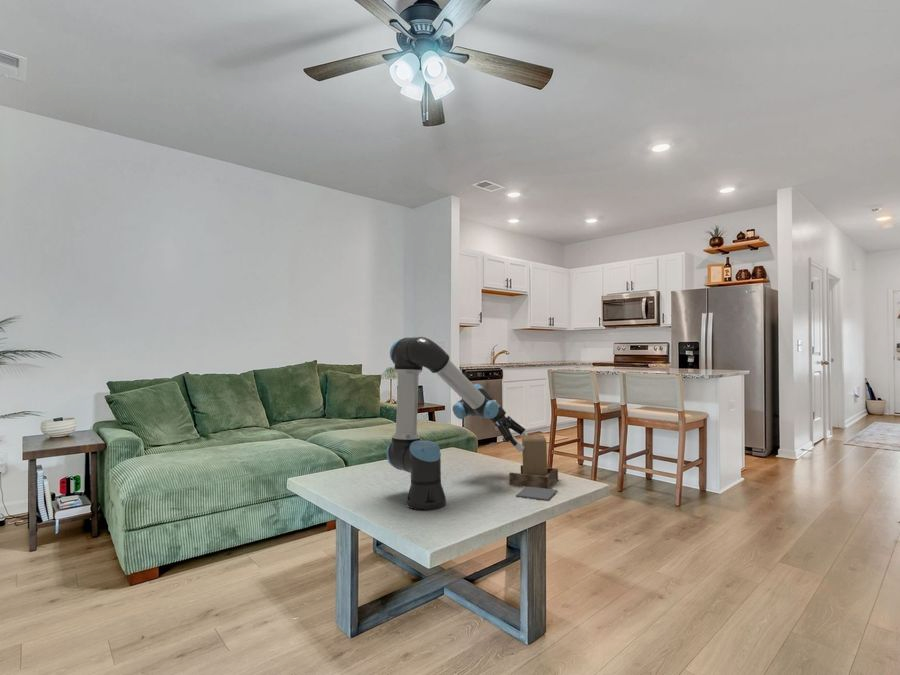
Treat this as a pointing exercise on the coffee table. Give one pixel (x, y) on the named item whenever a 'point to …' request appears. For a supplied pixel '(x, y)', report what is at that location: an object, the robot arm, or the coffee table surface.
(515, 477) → the wooden u-shaped frame
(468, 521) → the coffee table surface
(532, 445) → the wooden block
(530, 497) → the pad
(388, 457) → the robot arm
